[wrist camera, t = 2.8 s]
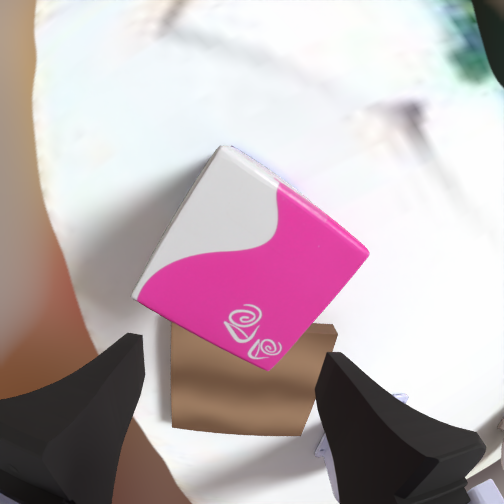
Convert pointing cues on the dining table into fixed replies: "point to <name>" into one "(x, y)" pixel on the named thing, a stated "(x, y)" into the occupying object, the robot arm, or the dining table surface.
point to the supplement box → (247, 261)
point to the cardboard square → (245, 385)
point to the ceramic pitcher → (503, 426)
